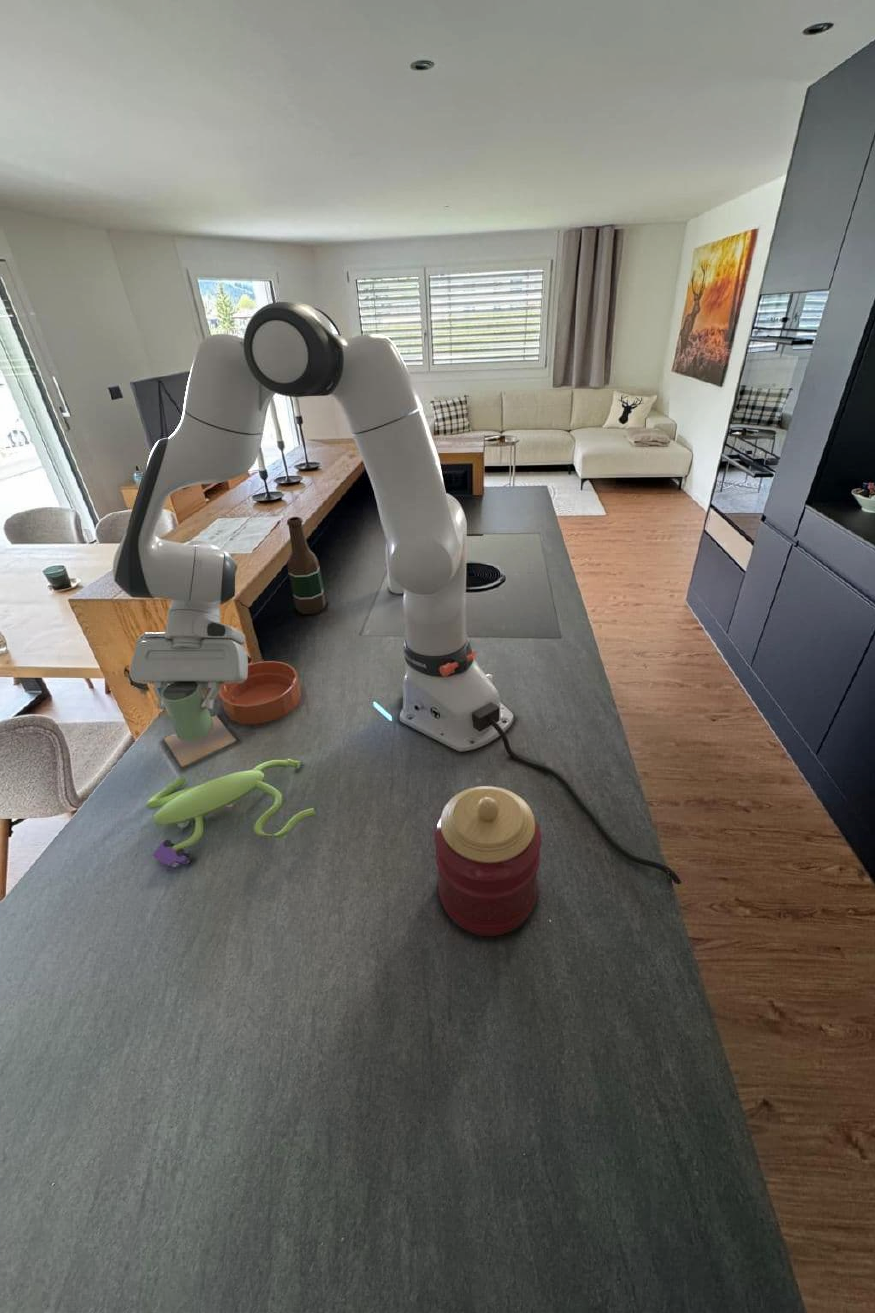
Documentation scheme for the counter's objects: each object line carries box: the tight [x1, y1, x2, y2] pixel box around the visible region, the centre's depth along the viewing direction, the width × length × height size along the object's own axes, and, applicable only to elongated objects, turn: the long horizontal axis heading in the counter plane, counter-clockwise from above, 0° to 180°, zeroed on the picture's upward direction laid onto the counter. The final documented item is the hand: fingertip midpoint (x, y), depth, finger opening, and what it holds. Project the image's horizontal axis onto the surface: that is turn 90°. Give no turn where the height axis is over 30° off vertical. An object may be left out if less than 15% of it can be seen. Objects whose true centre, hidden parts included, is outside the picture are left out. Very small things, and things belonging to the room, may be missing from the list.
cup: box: [161, 682, 213, 741], centre depth 98 cm, size 6×6×9 cm
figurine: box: [146, 758, 316, 869], centre depth 85 cm, size 18×27×6 cm
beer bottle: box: [286, 516, 326, 615], centre depth 138 cm, size 8×8×24 cm
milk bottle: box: [385, 542, 404, 595], centre depth 146 cm, size 8×8×20 cm
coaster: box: [163, 714, 237, 768], centre depth 102 cm, size 10×10×1 cm
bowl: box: [218, 660, 302, 726], centre depth 110 cm, size 15×15×5 cm
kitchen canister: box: [434, 785, 542, 937], centre depth 69 cm, size 13×13×18 cm
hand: (185, 708), depth 97 cm, fingers closed on cup, 6 cm apart
